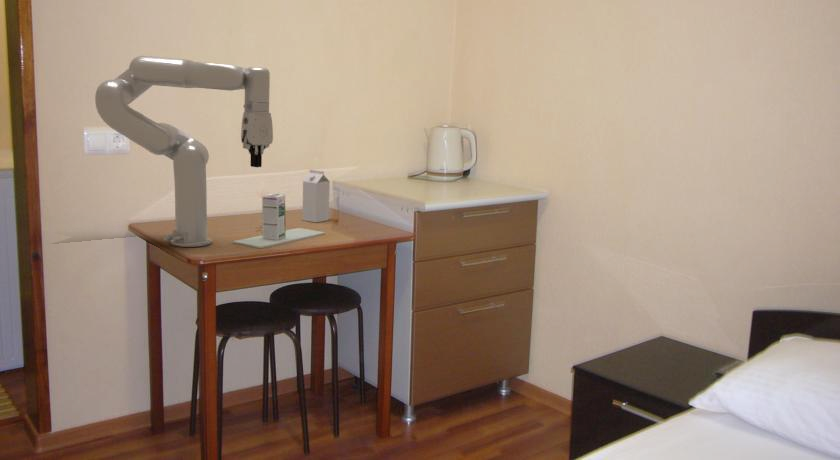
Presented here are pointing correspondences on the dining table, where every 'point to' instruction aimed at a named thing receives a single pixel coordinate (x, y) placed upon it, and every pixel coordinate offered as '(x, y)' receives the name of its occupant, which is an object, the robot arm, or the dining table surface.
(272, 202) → the syrup box
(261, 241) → the mat
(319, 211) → the milk carton
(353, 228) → the dining table surface
